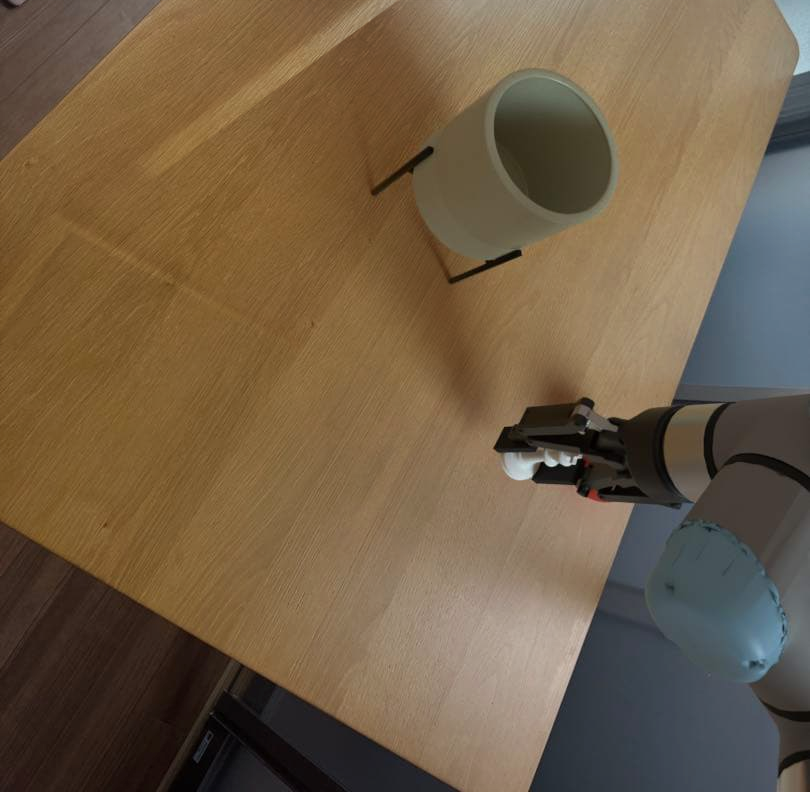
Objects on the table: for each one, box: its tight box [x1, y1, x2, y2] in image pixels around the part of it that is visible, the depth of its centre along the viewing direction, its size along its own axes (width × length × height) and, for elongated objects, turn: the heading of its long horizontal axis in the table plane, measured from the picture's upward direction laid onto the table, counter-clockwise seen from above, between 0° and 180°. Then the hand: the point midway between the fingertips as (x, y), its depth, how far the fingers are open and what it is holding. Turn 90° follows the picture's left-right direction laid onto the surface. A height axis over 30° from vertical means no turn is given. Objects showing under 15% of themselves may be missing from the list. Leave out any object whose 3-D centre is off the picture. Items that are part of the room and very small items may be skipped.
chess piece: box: [499, 447, 583, 481], centre depth 73 cm, size 5×5×10 cm
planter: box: [370, 67, 620, 285], centre depth 76 cm, size 15×16×23 cm
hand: (520, 455), depth 77 cm, fingers closed on chess piece, 5 cm apart
